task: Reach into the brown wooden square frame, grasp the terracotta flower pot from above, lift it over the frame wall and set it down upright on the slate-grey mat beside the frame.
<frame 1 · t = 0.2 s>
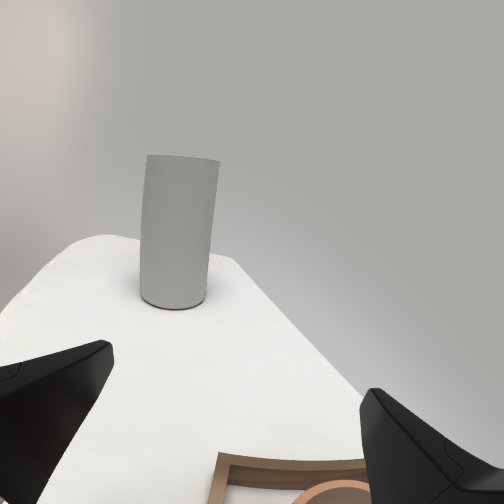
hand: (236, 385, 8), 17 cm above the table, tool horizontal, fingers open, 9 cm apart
cylinder vase: (172, 296, 50), on the table
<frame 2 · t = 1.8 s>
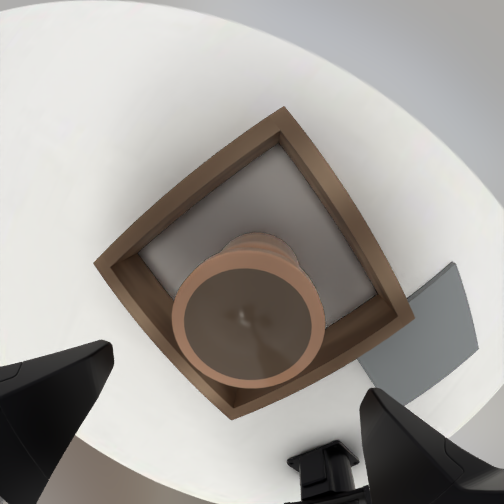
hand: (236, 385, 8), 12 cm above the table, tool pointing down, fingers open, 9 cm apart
slate mat: (422, 345, 20), on the table
terracotta pot: (253, 296, 16), in the brown wooden square frame
brown wooden square frame: (257, 275, 19), on the table
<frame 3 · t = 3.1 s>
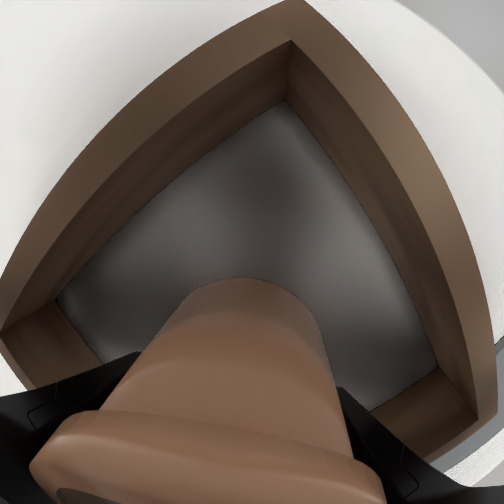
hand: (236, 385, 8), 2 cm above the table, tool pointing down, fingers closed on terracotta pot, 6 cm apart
slate mat: (475, 414, 10), on the table
terracotta pot: (227, 428, 6), in the brown wooden square frame, touching gripper
brown wooden square frame: (243, 351, 10), on the table
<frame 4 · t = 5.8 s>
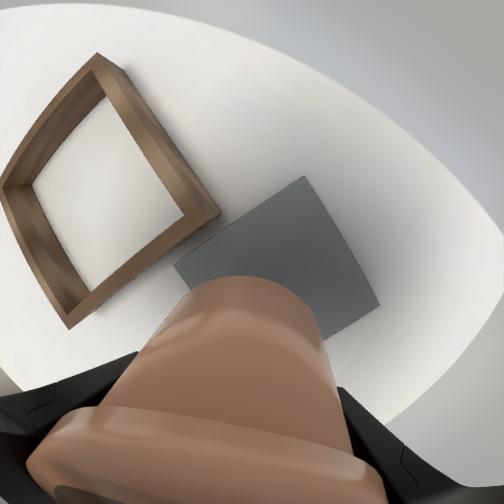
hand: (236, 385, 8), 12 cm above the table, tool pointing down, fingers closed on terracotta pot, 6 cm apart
slate mat: (280, 284, 20), on the table
terracotta pot: (227, 426, 6), point 14 cm above the table, touching gripper
brown wooden square frame: (96, 192, 19), on the table
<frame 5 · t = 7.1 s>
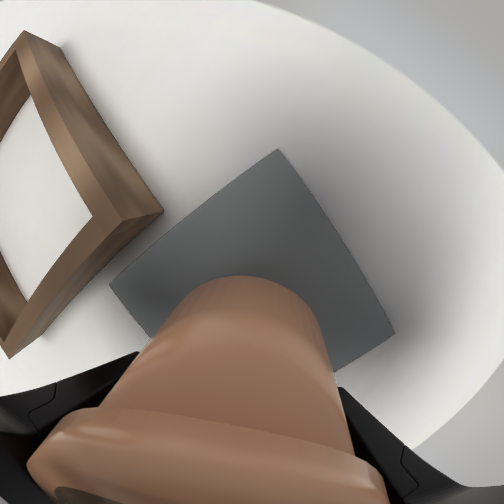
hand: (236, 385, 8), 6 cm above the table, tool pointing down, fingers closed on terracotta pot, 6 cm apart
slate mat: (251, 310, 14), on the table
terracotta pot: (227, 427, 6), point 8 cm above the table, touching gripper
brown wooden square frame: (28, 195, 13), on the table
when the fingers open (4 cm above the table, at t = 8.3 s): terracotta pot drops 1 cm, resting on slate mat.
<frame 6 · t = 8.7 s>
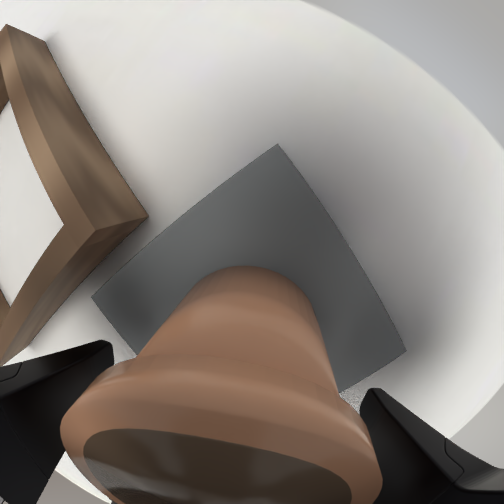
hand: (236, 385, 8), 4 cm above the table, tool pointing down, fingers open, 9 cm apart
slate mat: (247, 327, 12), on the table
terracotta pot: (234, 395, 8), on the slate mat, point 5 cm above the table
brown wooden square frame: (10, 198, 12), on the table
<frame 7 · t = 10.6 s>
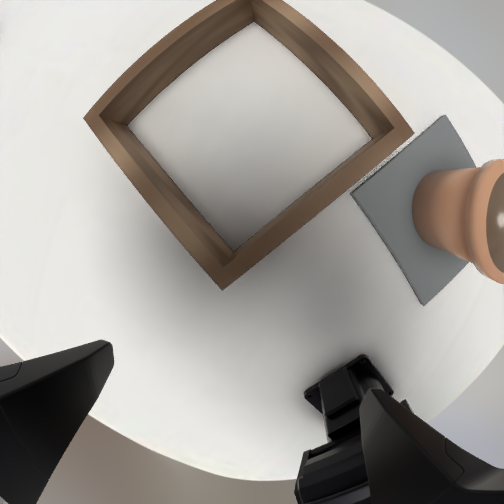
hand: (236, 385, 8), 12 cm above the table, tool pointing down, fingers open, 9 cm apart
slate mat: (438, 209, 18), on the table
terracotta pot: (474, 214, 13), on the slate mat, point 5 cm above the table
brown wooden square frame: (243, 122, 18), on the table
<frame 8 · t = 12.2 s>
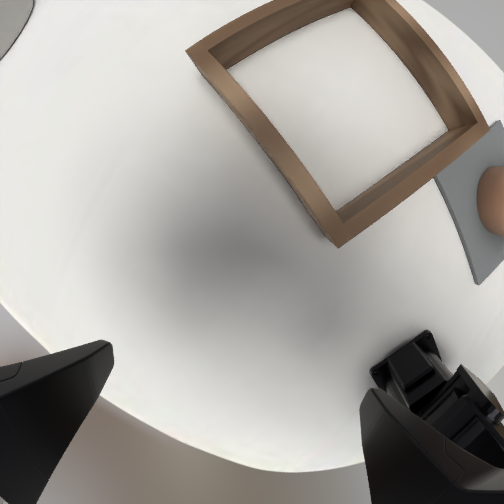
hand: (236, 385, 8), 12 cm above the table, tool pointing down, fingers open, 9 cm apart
slate mat: (493, 199, 17), on the table
brown wooden square frame: (346, 93, 16), on the table
cylinder vase: (8, 32, 15), on the table
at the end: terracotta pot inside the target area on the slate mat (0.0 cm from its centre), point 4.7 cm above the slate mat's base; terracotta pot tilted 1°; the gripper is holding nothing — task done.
